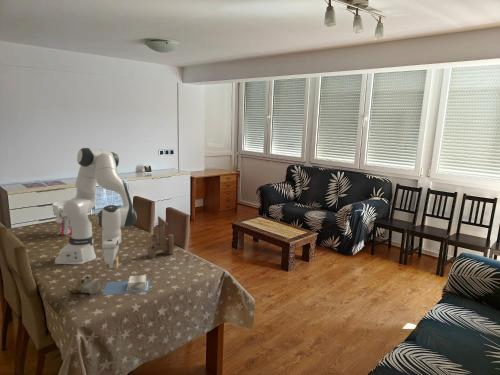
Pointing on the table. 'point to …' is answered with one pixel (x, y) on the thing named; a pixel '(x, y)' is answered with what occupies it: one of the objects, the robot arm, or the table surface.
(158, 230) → the wooden toy
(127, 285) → the board
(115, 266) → the oak cube
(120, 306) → the table surface
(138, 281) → the base block
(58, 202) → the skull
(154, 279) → the table surface
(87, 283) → the ceramic sculpture
